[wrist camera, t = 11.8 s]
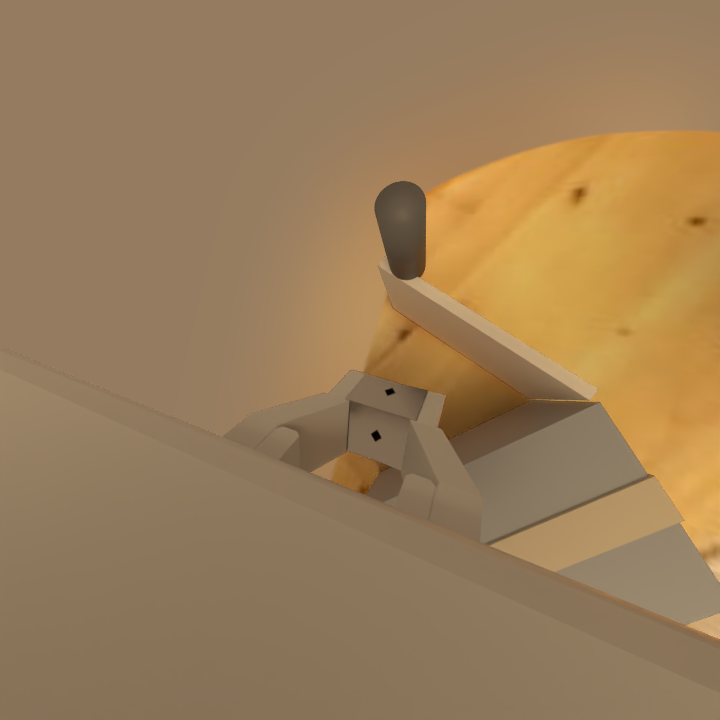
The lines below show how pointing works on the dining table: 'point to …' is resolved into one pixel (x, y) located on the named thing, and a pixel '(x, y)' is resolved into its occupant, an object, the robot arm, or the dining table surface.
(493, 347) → the flap
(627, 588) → the carton
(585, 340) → the dining table surface
